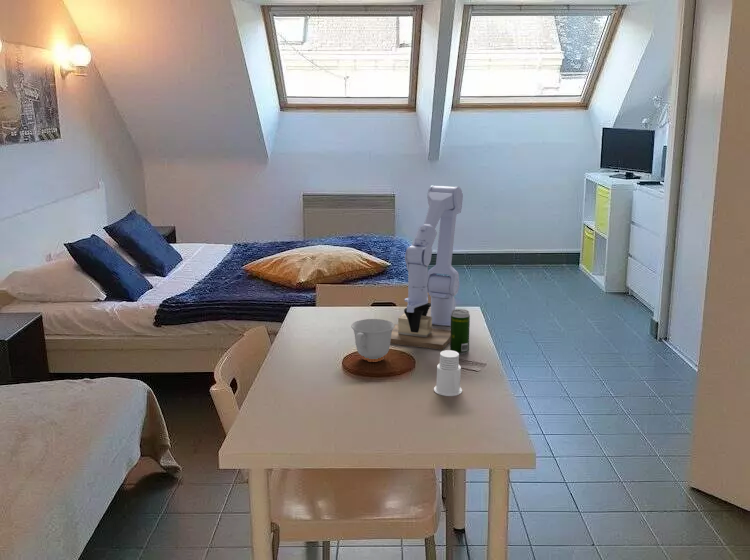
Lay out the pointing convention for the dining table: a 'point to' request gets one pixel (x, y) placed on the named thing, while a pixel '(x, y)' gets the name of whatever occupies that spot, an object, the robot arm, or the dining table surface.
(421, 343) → the board
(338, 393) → the dining table surface
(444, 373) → the downlight
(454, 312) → the guarana soda can
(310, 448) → the dining table surface
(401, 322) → the block
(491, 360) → the dining table surface
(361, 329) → the teacup
